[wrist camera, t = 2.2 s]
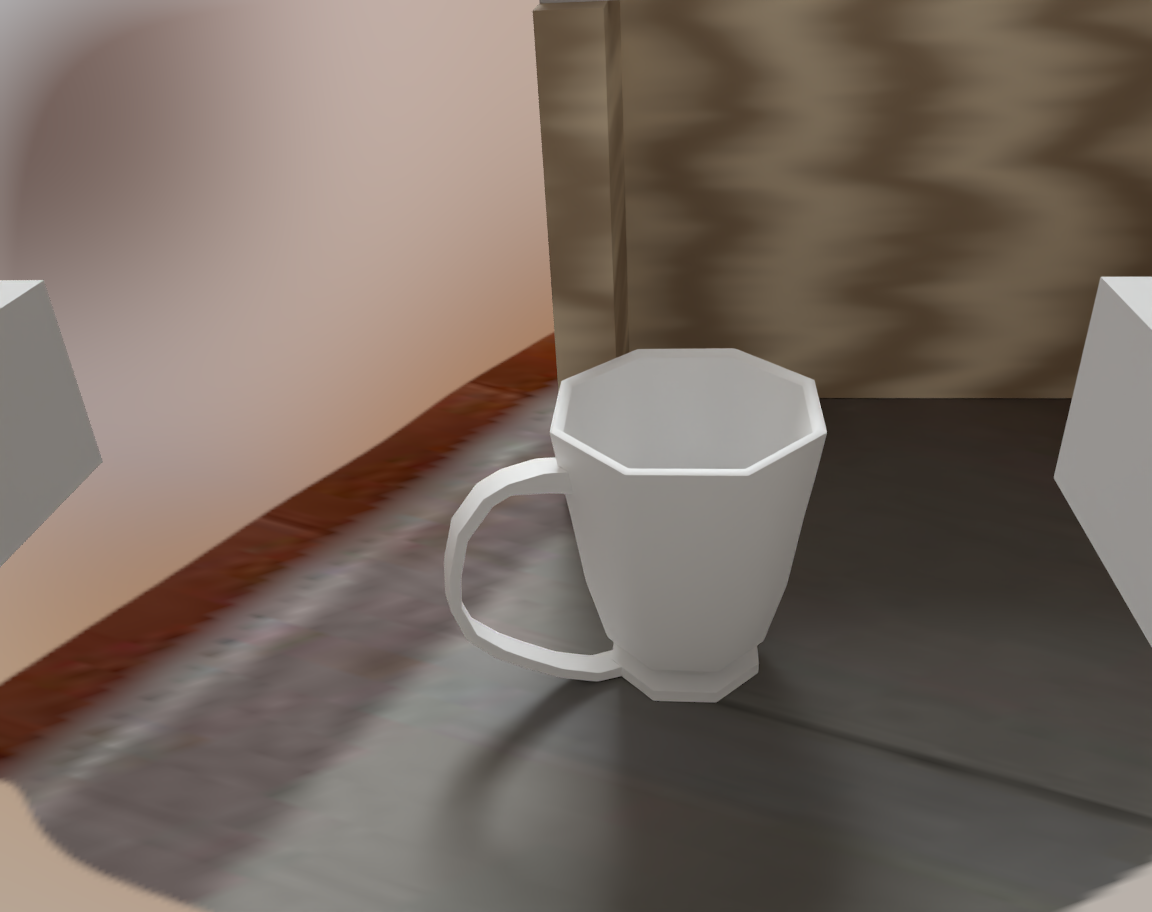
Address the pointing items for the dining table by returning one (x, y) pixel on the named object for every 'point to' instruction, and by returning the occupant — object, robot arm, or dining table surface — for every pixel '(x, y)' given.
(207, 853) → the dining table surface
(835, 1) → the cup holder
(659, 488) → the cup
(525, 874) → the dining table surface
